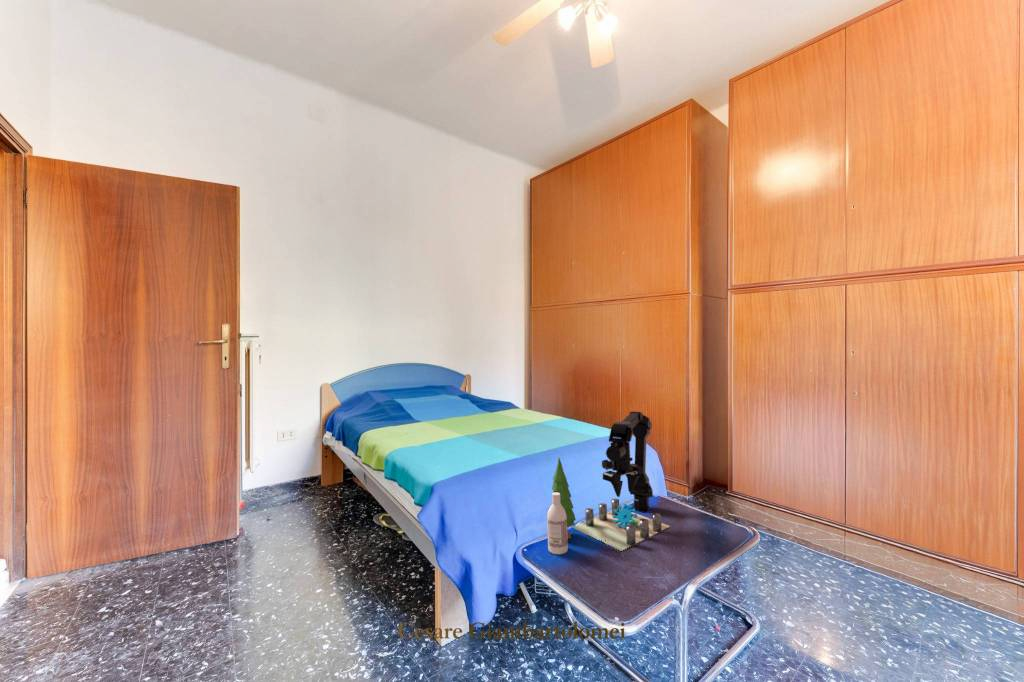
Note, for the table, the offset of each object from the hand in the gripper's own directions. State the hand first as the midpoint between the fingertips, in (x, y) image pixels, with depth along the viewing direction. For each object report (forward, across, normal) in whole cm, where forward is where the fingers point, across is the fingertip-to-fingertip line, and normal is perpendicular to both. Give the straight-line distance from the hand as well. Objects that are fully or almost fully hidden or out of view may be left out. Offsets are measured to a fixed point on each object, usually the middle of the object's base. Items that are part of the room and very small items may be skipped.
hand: (624, 494), depth 157 cm
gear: (+13, 0, 0) cm, 13 cm away
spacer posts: (+13, +2, 0) cm, 13 cm away
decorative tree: (+13, +24, -10) cm, 29 cm away
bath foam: (+13, +33, -4) cm, 36 cm away
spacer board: (+13, +2, -1) cm, 13 cm away
